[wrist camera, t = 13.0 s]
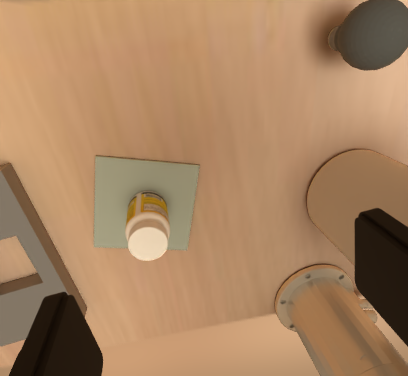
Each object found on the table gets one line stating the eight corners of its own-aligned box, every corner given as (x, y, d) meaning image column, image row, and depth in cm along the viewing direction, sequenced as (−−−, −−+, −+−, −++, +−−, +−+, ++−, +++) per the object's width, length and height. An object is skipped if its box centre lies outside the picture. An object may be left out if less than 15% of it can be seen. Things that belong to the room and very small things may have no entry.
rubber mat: (199, 164, 39) (199, 165, 38) (187, 248, 43) (187, 250, 43) (96, 155, 36) (95, 156, 36) (94, 245, 41) (93, 247, 40)
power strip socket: (-90, 190, 35) (-111, 202, 32) (10, 162, 35) (-2, 172, 32) (8, 331, 44) (-2, 350, 41) (86, 307, 44) (82, 325, 41)
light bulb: (350, 70, 37) (416, 75, 28) (302, 64, 36) (354, 68, 27) (365, 12, 35) (442, -3, 26) (315, 3, 34) (376, -15, 25)
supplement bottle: (138, 229, 40) (135, 271, 33) (121, 199, 38) (114, 235, 31) (173, 215, 40) (178, 253, 33) (158, 184, 38) (160, 216, 31)
